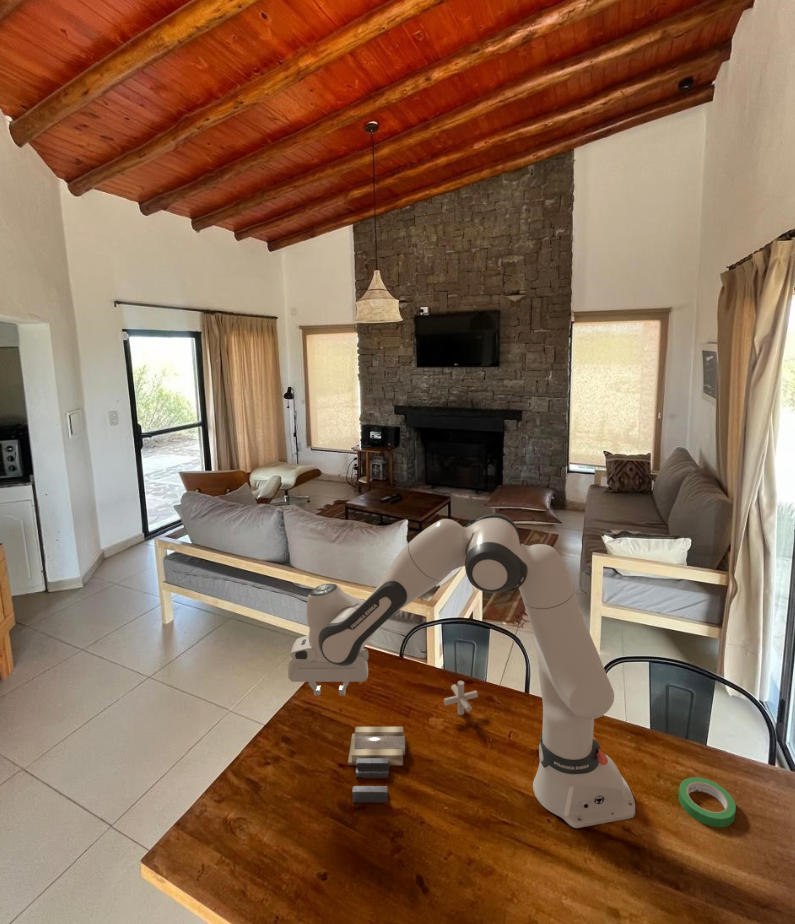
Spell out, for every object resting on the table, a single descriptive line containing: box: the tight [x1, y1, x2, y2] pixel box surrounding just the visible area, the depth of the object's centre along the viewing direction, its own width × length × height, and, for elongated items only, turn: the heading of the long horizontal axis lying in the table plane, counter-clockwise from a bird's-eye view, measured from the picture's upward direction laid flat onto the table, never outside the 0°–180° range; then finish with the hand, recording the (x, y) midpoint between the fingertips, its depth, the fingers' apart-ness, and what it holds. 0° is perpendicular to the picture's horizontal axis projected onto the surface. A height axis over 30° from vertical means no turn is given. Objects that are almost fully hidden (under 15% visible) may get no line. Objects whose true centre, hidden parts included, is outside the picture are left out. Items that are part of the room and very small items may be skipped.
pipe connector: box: [443, 680, 479, 716], centre depth 148 cm, size 10×10×10 cm
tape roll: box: [678, 776, 737, 828], centre depth 118 cm, size 11×11×3 cm
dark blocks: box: [351, 758, 390, 804], centre depth 126 cm, size 8×10×3 cm
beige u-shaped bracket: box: [347, 726, 404, 766], centre depth 136 cm, size 14×10×3 cm
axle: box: [355, 735, 406, 756], centre depth 135 cm, size 13×4×4 cm, turn 88°
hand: (330, 693), depth 133 cm, fingers open, 5 cm apart
